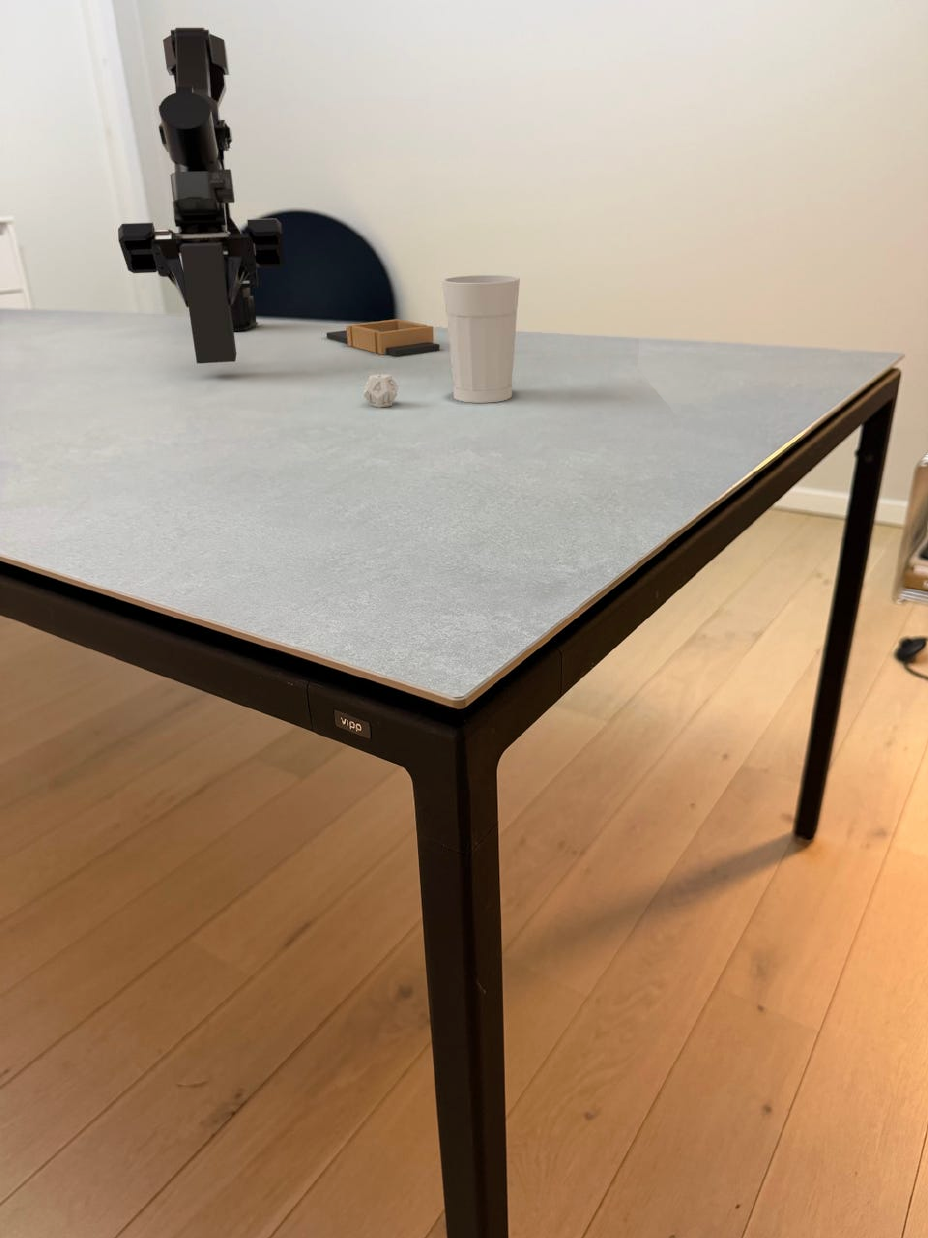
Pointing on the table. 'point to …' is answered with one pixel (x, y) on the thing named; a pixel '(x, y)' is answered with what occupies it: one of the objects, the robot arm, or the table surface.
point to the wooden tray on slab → (388, 337)
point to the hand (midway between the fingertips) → (208, 303)
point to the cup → (482, 335)
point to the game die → (381, 390)
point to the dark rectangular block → (208, 302)
